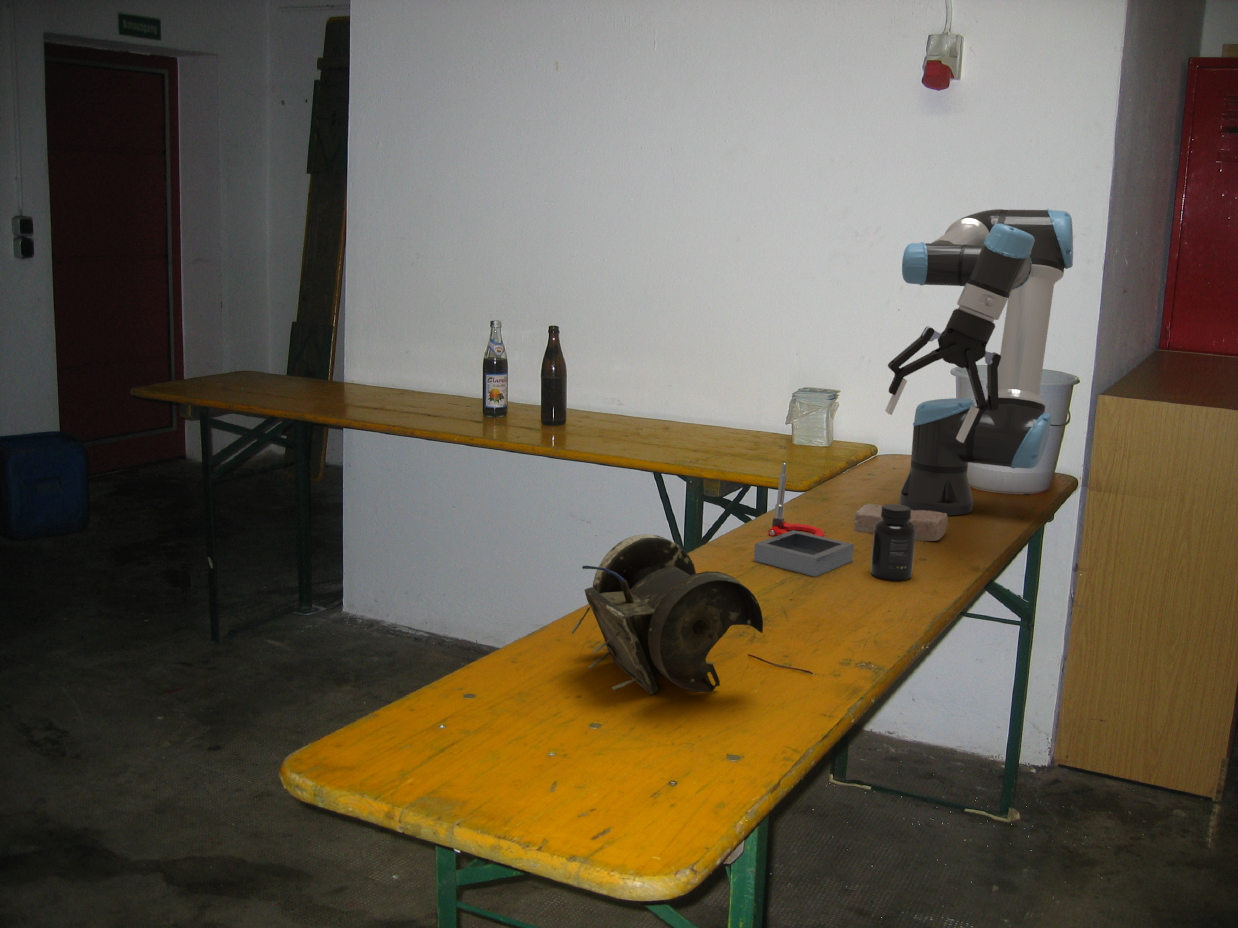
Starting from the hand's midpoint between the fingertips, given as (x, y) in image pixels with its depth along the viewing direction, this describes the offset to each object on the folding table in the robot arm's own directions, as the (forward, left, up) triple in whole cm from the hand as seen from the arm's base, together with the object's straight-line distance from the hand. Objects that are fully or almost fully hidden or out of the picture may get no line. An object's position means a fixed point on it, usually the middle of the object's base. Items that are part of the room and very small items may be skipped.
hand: (923, 427), depth 192 cm
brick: (-13, -9, -24) cm, 29 cm away
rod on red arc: (+3, -22, -24) cm, 33 cm away
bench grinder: (+74, +1, -24) cm, 78 cm away
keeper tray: (+17, -12, -24) cm, 32 cm away
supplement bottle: (+13, +3, -24) cm, 28 cm away
